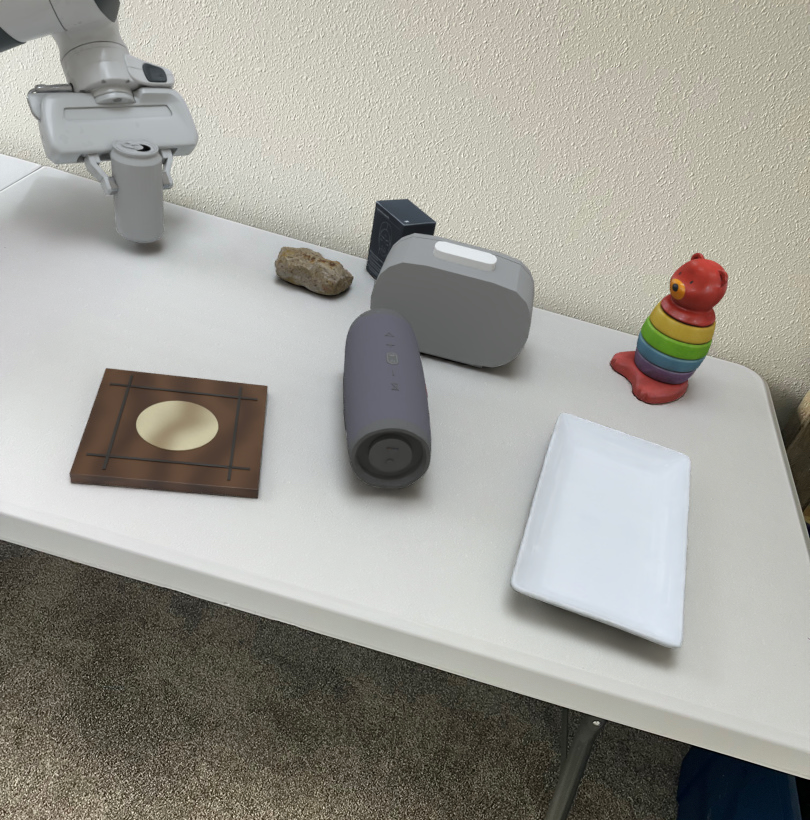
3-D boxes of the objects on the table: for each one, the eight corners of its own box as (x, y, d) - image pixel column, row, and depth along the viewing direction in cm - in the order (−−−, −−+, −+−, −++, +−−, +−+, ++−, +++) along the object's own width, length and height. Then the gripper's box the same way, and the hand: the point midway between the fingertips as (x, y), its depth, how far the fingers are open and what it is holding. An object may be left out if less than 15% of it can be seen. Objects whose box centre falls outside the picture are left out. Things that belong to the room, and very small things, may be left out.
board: (70, 482, 76) (68, 472, 75) (106, 376, 89) (105, 366, 88) (257, 498, 79) (258, 489, 78) (267, 394, 92) (267, 384, 91)
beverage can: (161, 248, 108) (158, 158, 99) (112, 241, 107) (105, 150, 98) (167, 227, 112) (164, 140, 104) (120, 221, 111) (114, 131, 103)
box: (423, 291, 116) (437, 221, 109) (390, 295, 114) (403, 224, 106) (396, 265, 120) (408, 197, 113) (364, 269, 118) (375, 199, 110)
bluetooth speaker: (425, 502, 84) (446, 428, 77) (339, 494, 82) (351, 418, 75) (410, 379, 99) (426, 309, 92) (337, 371, 98) (347, 298, 91)
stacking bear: (604, 359, 112) (654, 240, 99) (662, 358, 115) (718, 242, 103) (641, 405, 105) (700, 283, 93) (702, 402, 108) (767, 284, 96)
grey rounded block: (518, 344, 110) (547, 254, 101) (513, 380, 104) (544, 287, 94) (377, 308, 110) (393, 214, 101) (363, 341, 104) (379, 245, 94)
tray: (681, 474, 96) (694, 453, 93) (668, 670, 73) (684, 648, 71) (550, 430, 97) (559, 408, 95) (498, 609, 75) (508, 585, 72)
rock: (338, 305, 109) (342, 276, 106) (264, 281, 110) (265, 252, 107) (355, 282, 114) (360, 254, 111) (284, 259, 115) (287, 231, 112)
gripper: (25, 71, 94) (66, 187, 96) (182, 70, 105) (216, 174, 107) (17, 97, 99) (57, 207, 102) (168, 94, 110) (201, 193, 113)
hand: (140, 190), depth 105 cm, fingers closed on beverage can, 6 cm apart
